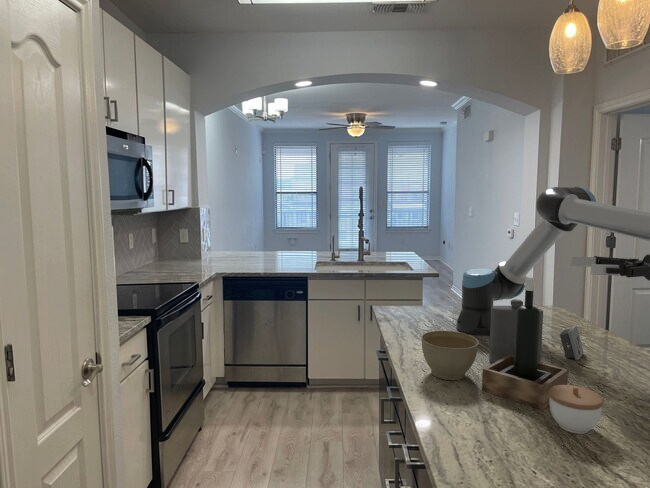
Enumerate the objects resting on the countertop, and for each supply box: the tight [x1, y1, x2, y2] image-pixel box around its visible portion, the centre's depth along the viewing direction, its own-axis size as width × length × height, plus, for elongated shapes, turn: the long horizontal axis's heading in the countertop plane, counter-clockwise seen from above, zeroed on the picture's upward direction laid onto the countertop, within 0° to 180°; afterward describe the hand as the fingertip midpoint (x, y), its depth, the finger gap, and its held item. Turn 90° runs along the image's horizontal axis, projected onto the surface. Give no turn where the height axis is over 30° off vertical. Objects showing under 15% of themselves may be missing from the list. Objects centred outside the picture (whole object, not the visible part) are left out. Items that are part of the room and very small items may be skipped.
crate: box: [481, 355, 569, 411], centre depth 123 cm, size 16×16×6 cm
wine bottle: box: [514, 276, 540, 381], centre depth 121 cm, size 6×6×30 cm
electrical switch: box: [559, 325, 584, 361], centre depth 149 cm, size 9×5×9 cm, turn 141°
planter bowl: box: [420, 330, 479, 381], centre depth 133 cm, size 16×16×11 cm
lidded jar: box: [549, 384, 604, 435], centre depth 103 cm, size 11×11×9 cm
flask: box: [488, 298, 544, 364], centre depth 142 cm, size 15×6×20 cm, turn 76°
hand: (581, 265), depth 128 cm, fingers open, 13 cm apart
